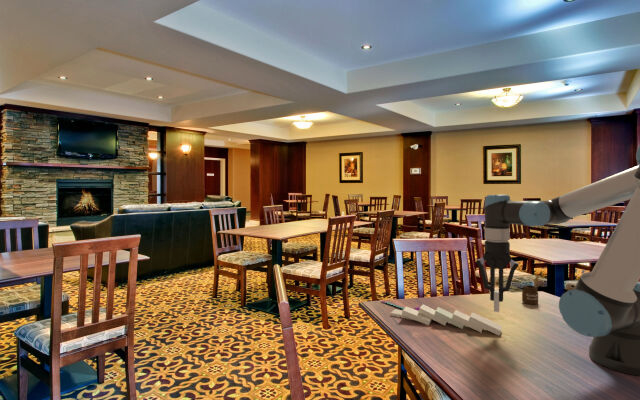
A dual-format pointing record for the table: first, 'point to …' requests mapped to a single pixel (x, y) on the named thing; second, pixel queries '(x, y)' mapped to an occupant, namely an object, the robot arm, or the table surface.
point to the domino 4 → (447, 317)
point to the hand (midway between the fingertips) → (496, 310)
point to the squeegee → (402, 307)
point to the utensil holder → (530, 293)
